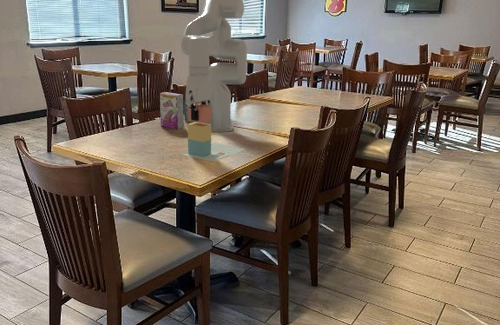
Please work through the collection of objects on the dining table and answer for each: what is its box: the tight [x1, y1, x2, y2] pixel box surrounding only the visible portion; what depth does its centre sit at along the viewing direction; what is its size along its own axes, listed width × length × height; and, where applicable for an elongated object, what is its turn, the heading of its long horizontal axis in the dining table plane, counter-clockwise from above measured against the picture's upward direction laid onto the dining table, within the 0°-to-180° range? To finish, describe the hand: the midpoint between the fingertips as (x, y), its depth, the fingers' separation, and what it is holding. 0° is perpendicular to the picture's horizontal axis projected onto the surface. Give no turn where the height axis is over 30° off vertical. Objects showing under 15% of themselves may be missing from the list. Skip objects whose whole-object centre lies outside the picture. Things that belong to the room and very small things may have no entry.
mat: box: [181, 142, 247, 163], centre depth 185 cm, size 16×22×1 cm
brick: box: [188, 104, 211, 123], centre depth 177 cm, size 8×5×6 cm, turn 58°
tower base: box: [187, 122, 212, 157], centre depth 180 cm, size 8×5×12 cm, turn 58°
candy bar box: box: [159, 91, 185, 130], centre depth 222 cm, size 11×5×16 cm, turn 58°
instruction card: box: [208, 152, 229, 158], centre depth 181 cm, size 6×6×1 cm
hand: (199, 118), depth 177 cm, fingers closed on brick, 4 cm apart
